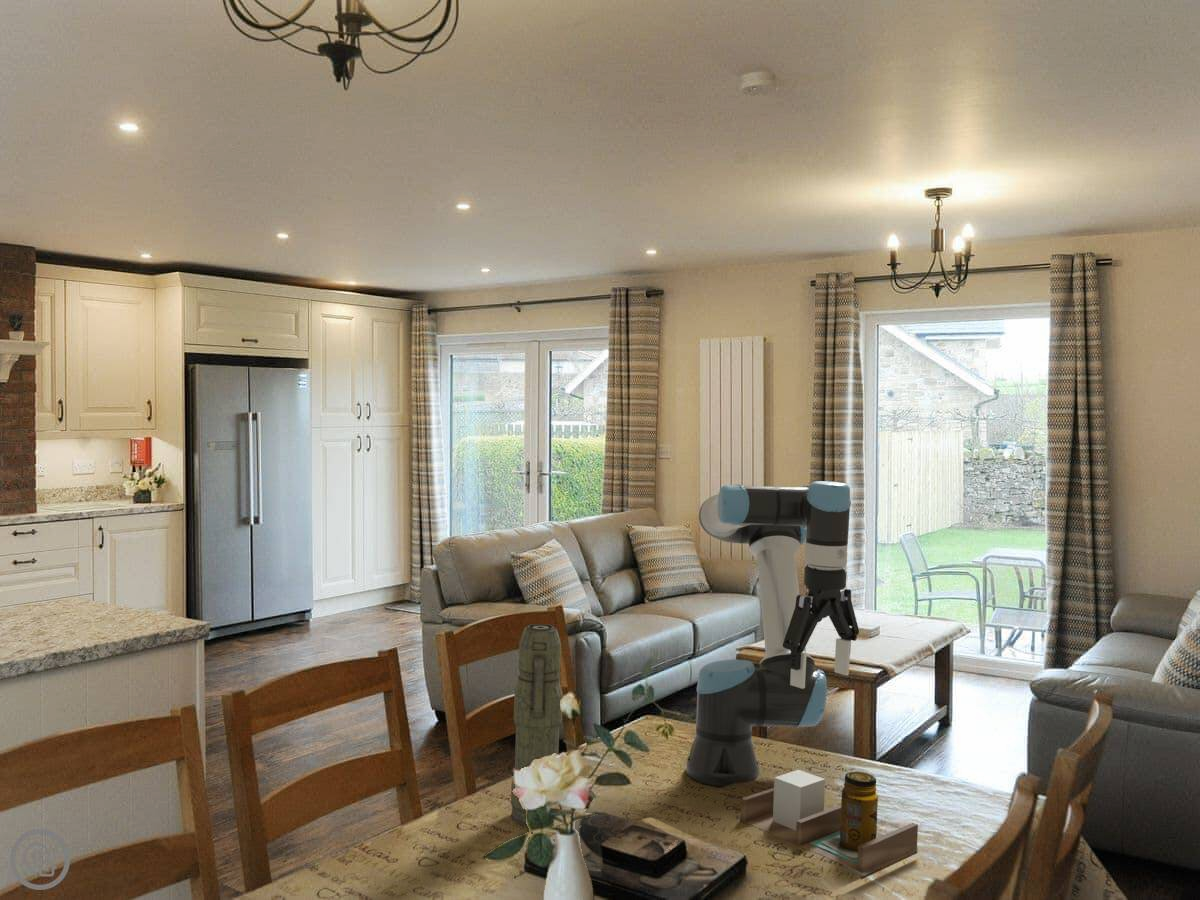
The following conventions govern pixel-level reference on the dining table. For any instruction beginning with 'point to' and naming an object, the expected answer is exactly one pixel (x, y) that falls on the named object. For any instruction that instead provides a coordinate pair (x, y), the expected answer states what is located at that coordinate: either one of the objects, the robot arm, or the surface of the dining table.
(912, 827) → the rack
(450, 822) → the dining table surface
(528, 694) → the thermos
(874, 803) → the condiment
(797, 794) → the block
